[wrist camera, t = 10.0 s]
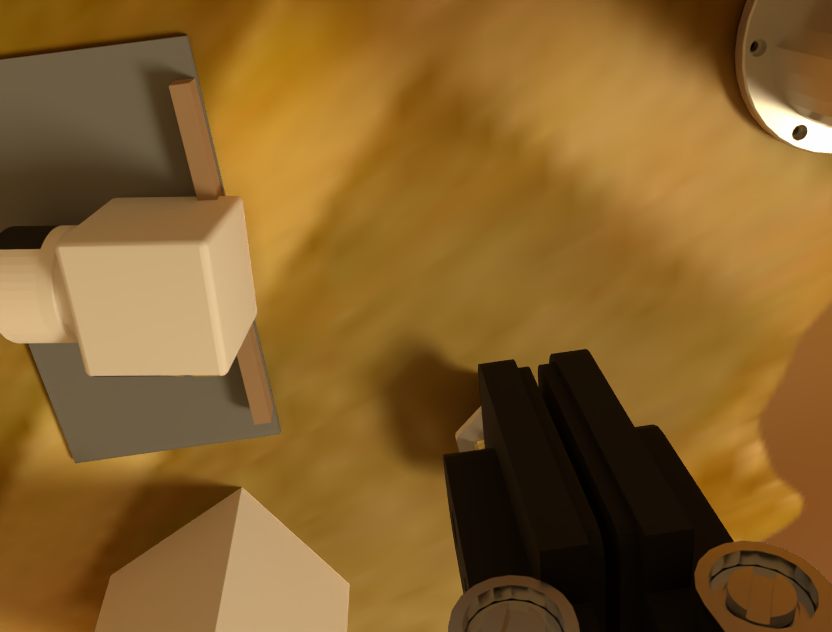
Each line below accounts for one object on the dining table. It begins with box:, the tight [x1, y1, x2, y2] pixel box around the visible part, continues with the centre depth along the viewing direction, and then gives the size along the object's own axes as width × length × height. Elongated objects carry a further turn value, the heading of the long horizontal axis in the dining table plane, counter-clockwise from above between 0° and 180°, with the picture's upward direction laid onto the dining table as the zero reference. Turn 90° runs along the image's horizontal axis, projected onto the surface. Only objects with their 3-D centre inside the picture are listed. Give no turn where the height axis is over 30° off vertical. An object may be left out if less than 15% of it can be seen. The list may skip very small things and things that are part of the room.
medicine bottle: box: [0, 196, 257, 377], centre depth 39 cm, size 7×7×12 cm
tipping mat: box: [0, 35, 281, 463], centre depth 42 cm, size 13×24×2 cm, turn 6°
